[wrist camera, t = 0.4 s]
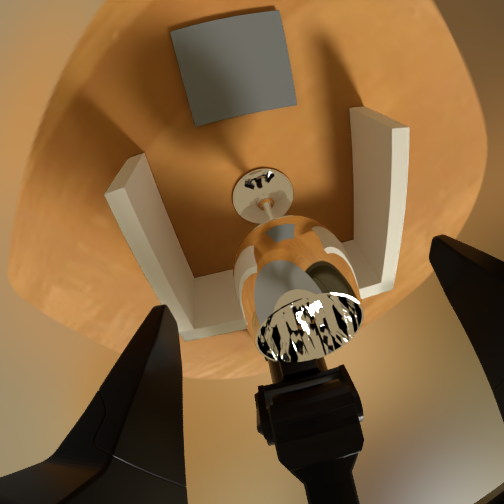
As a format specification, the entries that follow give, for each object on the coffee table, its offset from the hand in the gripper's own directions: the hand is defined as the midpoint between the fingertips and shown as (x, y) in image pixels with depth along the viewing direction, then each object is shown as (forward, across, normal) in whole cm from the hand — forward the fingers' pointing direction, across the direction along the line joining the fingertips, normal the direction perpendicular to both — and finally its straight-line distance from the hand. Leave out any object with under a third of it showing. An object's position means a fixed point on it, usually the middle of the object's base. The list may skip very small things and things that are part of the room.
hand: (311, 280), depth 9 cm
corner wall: (+13, 0, +4) cm, 13 cm away
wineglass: (+13, 0, +3) cm, 13 cm away
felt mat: (+12, 0, -6) cm, 14 cm away
